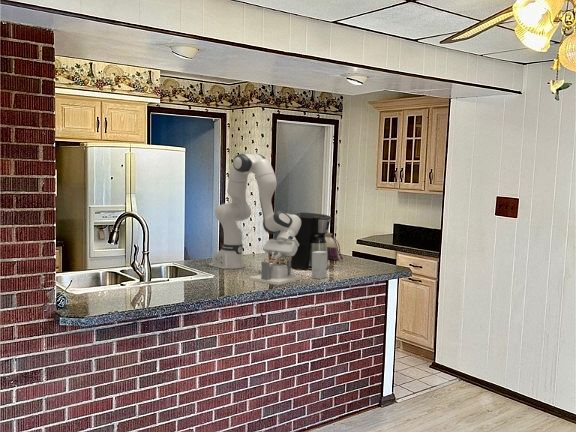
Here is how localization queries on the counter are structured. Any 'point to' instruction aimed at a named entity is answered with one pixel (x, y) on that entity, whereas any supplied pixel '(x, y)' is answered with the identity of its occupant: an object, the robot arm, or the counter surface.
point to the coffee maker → (310, 239)
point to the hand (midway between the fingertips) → (273, 259)
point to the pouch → (332, 247)
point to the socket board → (276, 281)
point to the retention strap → (275, 261)
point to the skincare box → (319, 264)
